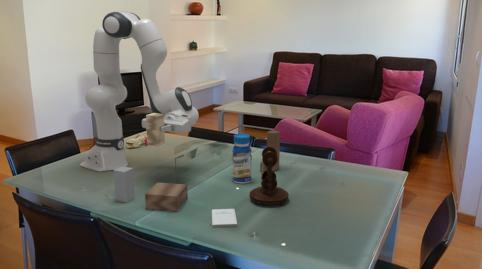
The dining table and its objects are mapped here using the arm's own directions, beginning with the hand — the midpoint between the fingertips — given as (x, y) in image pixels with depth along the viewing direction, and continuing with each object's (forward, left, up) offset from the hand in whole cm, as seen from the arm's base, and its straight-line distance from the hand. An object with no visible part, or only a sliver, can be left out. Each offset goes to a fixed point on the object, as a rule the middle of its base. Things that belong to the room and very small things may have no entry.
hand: (154, 128), depth 168 cm
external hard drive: (+38, -15, -26) cm, 48 cm away
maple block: (0, +1, -7) cm, 7 cm away
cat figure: (-46, +54, -25) cm, 76 cm away
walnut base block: (+13, -12, -25) cm, 31 cm away
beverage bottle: (+28, +22, -25) cm, 44 cm away
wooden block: (+34, +40, -25) cm, 58 cm away
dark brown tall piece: (+46, +7, -25) cm, 53 cm away
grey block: (-4, -15, -25) cm, 29 cm away
